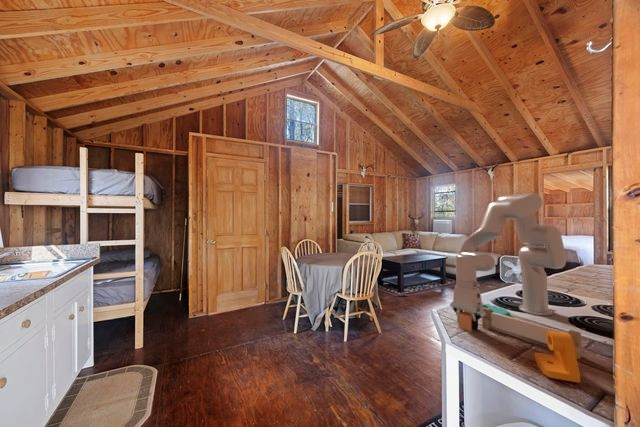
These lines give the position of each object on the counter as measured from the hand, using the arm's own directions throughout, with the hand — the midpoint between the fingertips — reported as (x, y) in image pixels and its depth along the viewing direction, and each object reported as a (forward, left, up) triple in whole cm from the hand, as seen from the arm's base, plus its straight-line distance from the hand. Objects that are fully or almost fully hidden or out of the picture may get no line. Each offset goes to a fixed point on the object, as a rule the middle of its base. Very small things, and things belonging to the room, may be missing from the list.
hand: (467, 326), depth 109 cm
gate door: (-7, +18, +1) cm, 19 cm away
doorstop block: (0, 0, -1) cm, 1 cm away
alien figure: (-23, -5, -1) cm, 24 cm away
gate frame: (-7, +18, -1) cm, 19 cm away
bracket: (+9, +31, -1) cm, 32 cm away
